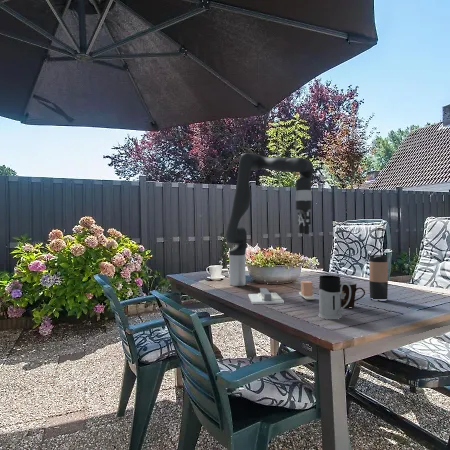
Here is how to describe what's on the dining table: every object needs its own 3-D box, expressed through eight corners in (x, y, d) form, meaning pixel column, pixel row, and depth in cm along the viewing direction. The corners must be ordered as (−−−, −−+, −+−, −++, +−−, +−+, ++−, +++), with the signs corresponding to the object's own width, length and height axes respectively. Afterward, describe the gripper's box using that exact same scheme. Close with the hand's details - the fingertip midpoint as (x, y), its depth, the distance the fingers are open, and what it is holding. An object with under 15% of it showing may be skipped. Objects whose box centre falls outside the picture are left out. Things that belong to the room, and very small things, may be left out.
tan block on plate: (299, 293, 162) (298, 279, 162) (307, 293, 162) (307, 279, 162) (306, 299, 150) (305, 284, 150) (314, 299, 150) (314, 284, 150)
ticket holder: (248, 296, 163) (248, 287, 163) (277, 295, 164) (276, 287, 164) (252, 304, 147) (252, 294, 147) (284, 303, 148) (284, 294, 148)
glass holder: (329, 312, 133) (329, 274, 132) (359, 321, 120) (359, 279, 120) (313, 315, 128) (312, 276, 128) (342, 325, 116) (341, 281, 116)
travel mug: (386, 298, 155) (385, 255, 155) (389, 302, 148) (389, 256, 148) (368, 297, 157) (368, 255, 157) (370, 301, 150) (370, 256, 150)
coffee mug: (330, 305, 144) (330, 281, 144) (346, 303, 147) (346, 280, 147) (349, 311, 133) (349, 286, 133) (366, 309, 136) (366, 285, 136)
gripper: (292, 201, 169) (292, 233, 169) (299, 199, 155) (300, 234, 155) (307, 201, 169) (307, 233, 169) (315, 199, 155) (316, 234, 155)
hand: (303, 233), depth 162 cm, fingers open, 8 cm apart
